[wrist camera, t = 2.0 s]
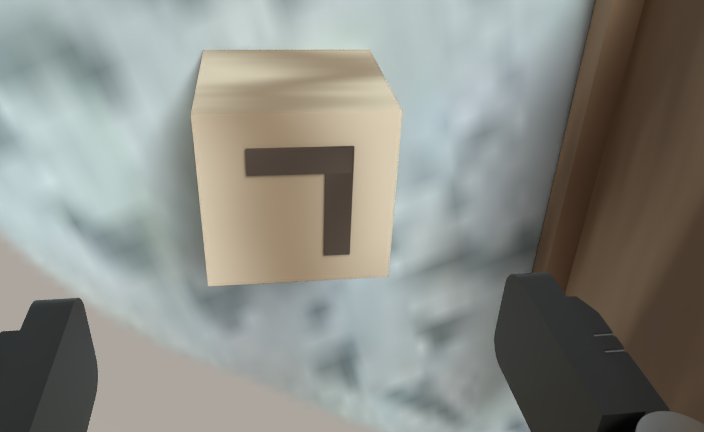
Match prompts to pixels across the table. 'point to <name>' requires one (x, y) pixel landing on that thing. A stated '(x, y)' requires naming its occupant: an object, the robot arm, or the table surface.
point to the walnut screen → (637, 190)
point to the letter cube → (295, 165)
